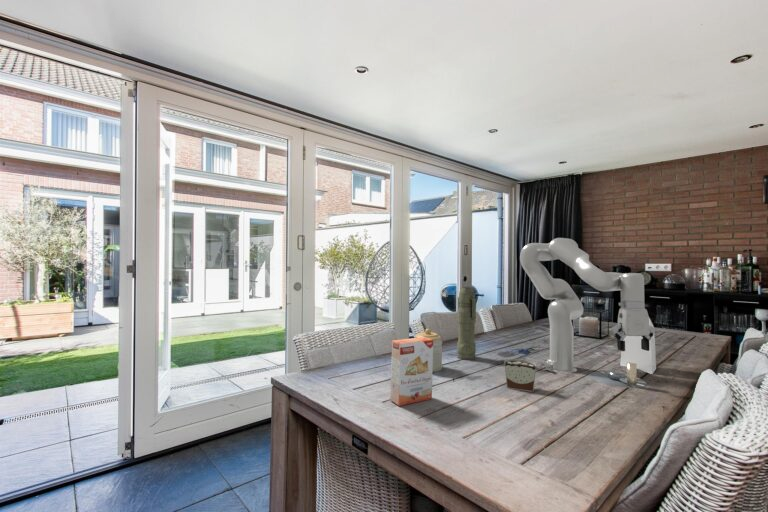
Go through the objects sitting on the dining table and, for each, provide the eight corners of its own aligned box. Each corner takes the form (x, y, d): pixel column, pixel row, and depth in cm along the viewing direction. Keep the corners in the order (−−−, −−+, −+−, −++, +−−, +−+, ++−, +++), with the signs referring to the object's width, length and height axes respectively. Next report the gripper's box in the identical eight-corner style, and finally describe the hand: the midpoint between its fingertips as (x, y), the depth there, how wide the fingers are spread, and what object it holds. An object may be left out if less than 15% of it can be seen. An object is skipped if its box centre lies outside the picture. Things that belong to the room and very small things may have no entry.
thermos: (469, 361, 177) (470, 288, 177) (451, 356, 186) (452, 286, 187) (481, 358, 182) (482, 287, 182) (463, 353, 191) (464, 286, 192)
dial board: (610, 391, 138) (610, 387, 138) (578, 374, 158) (578, 371, 158) (660, 390, 140) (660, 386, 140) (622, 374, 160) (622, 370, 160)
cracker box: (399, 407, 121) (400, 343, 121) (389, 401, 126) (390, 339, 126) (433, 399, 128) (433, 339, 128) (422, 393, 133) (423, 335, 134)
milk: (656, 368, 169) (656, 311, 169) (652, 374, 161) (652, 314, 161) (625, 363, 177) (625, 309, 178) (620, 368, 169) (620, 311, 169)
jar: (446, 367, 167) (447, 328, 167) (434, 374, 156) (435, 332, 156) (421, 362, 174) (421, 325, 174) (407, 369, 163) (408, 329, 163)
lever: (604, 375, 152) (604, 355, 152) (618, 375, 152) (618, 355, 152) (627, 385, 139) (627, 364, 139) (642, 385, 140) (642, 364, 140)
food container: (538, 387, 142) (538, 361, 142) (537, 392, 136) (537, 365, 136) (504, 382, 147) (505, 357, 147) (502, 387, 142) (503, 361, 142)
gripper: (618, 306, 137) (619, 353, 136) (661, 306, 138) (662, 352, 138) (604, 304, 144) (605, 348, 144) (645, 304, 146) (646, 347, 145)
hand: (633, 350), depth 141 cm, fingers open, 9 cm apart
